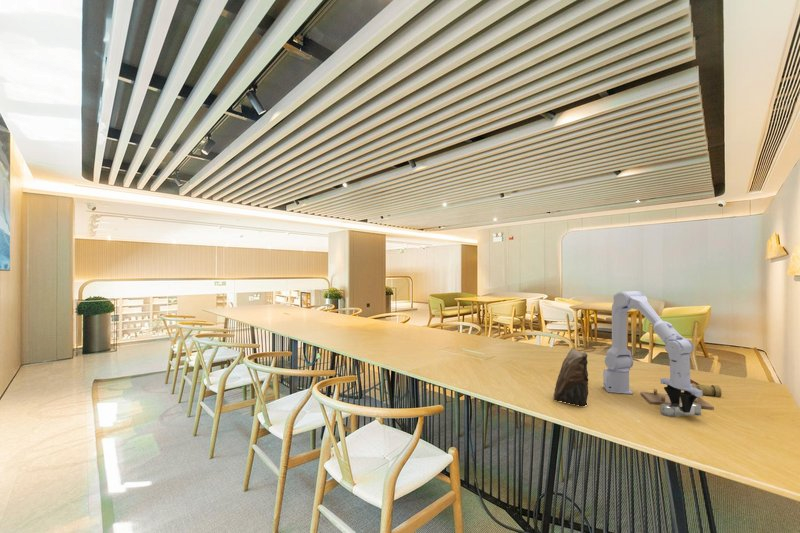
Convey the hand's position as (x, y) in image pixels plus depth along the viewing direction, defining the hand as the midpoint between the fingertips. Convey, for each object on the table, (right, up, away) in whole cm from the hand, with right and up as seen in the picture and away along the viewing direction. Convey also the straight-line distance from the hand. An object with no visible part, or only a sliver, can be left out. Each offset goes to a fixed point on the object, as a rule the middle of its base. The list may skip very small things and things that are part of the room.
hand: (680, 409), depth 124 cm
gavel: (+28, -2, +26) cm, 38 cm away
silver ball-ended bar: (0, -2, 0) cm, 2 cm away
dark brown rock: (-33, -2, +14) cm, 36 cm away
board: (+7, -2, +11) cm, 13 cm away
